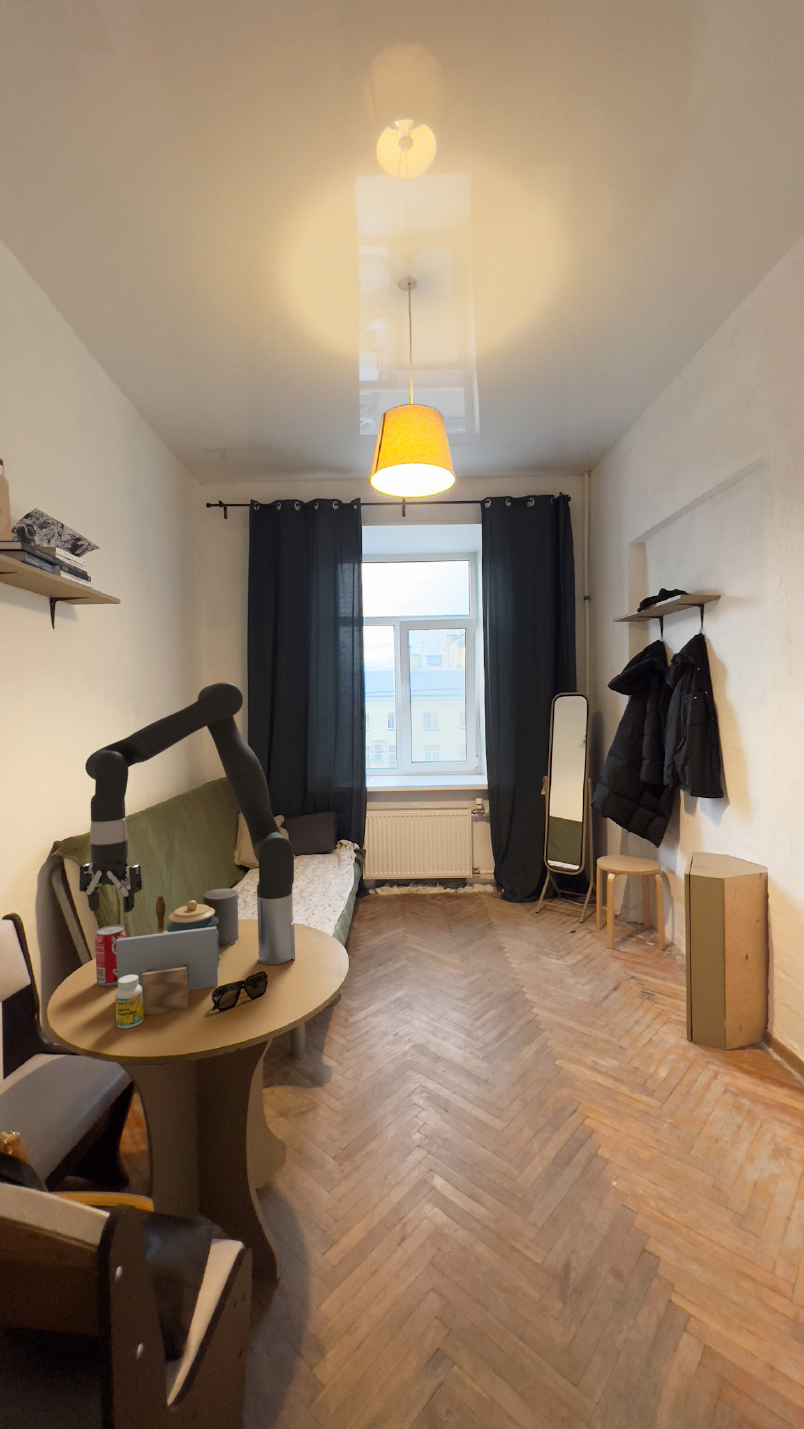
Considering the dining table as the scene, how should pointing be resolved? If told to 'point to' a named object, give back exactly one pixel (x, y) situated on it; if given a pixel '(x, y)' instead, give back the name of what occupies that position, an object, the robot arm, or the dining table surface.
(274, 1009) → the dining table surface
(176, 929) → the canister
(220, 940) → the pillar candle
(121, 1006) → the supplement bottle
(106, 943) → the soda can
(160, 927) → the hand bell
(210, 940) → the wall board
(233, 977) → the dining table surface
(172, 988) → the cleat pocket
